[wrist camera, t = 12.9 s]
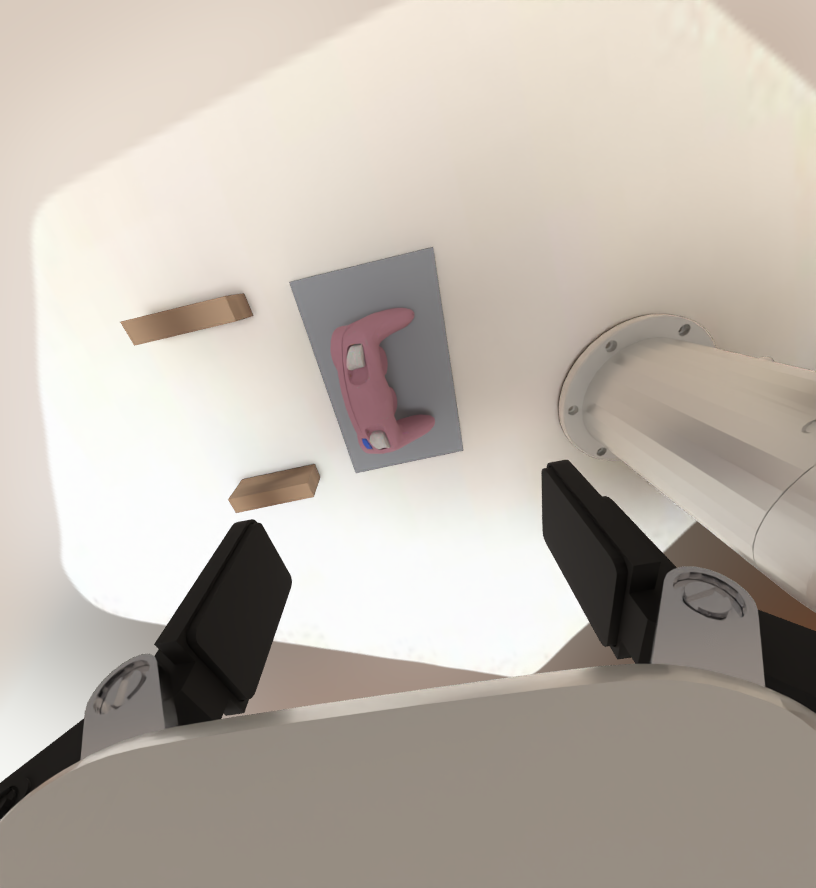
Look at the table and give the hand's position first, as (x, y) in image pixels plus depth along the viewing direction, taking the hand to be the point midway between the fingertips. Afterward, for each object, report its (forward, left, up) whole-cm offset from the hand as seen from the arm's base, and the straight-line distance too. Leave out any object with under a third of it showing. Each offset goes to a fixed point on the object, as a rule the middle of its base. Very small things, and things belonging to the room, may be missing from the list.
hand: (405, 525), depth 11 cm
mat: (+1, 0, -17) cm, 17 cm away
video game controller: (+1, 0, -17) cm, 17 cm away
